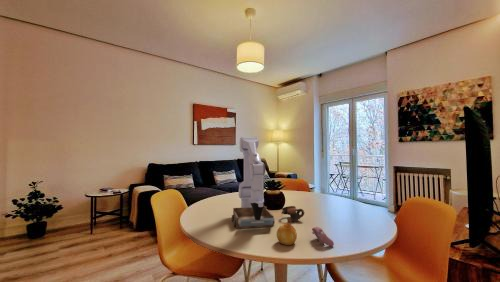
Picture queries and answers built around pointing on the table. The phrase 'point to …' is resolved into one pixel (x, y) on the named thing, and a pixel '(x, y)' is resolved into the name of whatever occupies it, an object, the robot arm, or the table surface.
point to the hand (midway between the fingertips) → (257, 219)
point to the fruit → (286, 234)
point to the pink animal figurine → (322, 236)
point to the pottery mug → (293, 213)
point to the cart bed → (249, 216)
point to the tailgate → (256, 222)
